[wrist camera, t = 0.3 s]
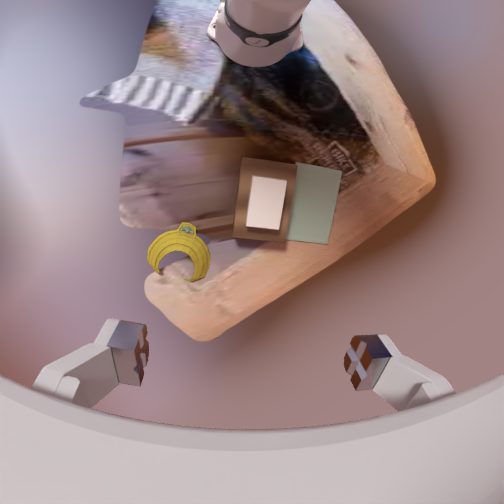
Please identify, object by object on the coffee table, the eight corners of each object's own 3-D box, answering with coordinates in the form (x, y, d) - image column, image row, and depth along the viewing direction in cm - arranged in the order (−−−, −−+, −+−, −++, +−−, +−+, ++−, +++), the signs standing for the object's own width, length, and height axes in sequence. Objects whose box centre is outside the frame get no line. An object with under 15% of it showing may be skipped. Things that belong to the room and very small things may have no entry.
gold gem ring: (191, 216, 55) (188, 222, 51) (220, 268, 59) (220, 277, 55) (140, 244, 56) (134, 251, 52) (170, 291, 60) (167, 301, 56)
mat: (295, 161, 52) (296, 162, 52) (341, 170, 53) (342, 171, 53) (282, 238, 58) (282, 239, 57) (326, 243, 59) (327, 244, 59)
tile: (252, 175, 48) (253, 176, 46) (284, 179, 49) (287, 181, 47) (245, 223, 51) (246, 226, 50) (276, 226, 52) (278, 229, 50)
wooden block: (241, 156, 51) (243, 157, 47) (292, 163, 52) (297, 165, 48) (232, 230, 56) (232, 237, 52) (280, 236, 57) (284, 242, 54)
